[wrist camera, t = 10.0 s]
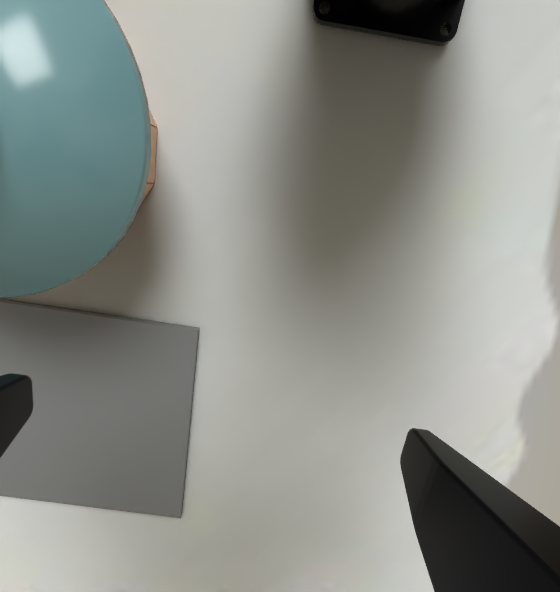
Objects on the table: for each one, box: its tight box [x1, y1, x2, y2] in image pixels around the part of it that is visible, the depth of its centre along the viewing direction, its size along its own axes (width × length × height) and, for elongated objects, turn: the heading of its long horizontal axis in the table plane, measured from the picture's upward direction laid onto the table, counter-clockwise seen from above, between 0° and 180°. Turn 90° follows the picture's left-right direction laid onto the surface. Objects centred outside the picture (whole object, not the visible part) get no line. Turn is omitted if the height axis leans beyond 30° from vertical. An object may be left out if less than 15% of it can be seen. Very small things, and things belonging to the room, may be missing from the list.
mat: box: [0, 299, 199, 518], centre depth 22 cm, size 16×14×1 cm
